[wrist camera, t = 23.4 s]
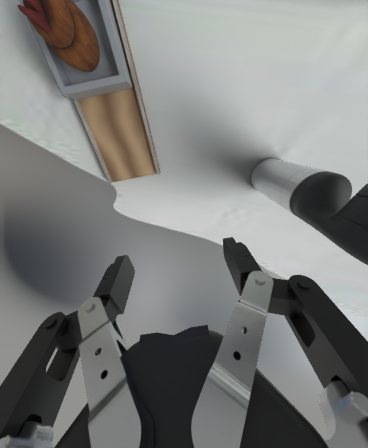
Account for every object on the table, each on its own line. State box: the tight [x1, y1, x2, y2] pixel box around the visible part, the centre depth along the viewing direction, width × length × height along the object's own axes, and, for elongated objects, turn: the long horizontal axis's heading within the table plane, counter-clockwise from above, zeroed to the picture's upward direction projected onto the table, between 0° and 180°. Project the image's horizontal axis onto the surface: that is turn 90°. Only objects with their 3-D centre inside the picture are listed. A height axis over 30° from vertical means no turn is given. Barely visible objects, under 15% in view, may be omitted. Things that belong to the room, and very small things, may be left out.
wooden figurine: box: [18, 0, 100, 72], centre depth 20 cm, size 7×6×15 cm
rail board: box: [73, 0, 160, 183], centre depth 33 cm, size 14×31×3 cm, turn 10°
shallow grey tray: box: [20, 0, 133, 100], centre depth 27 cm, size 12×12×6 cm
